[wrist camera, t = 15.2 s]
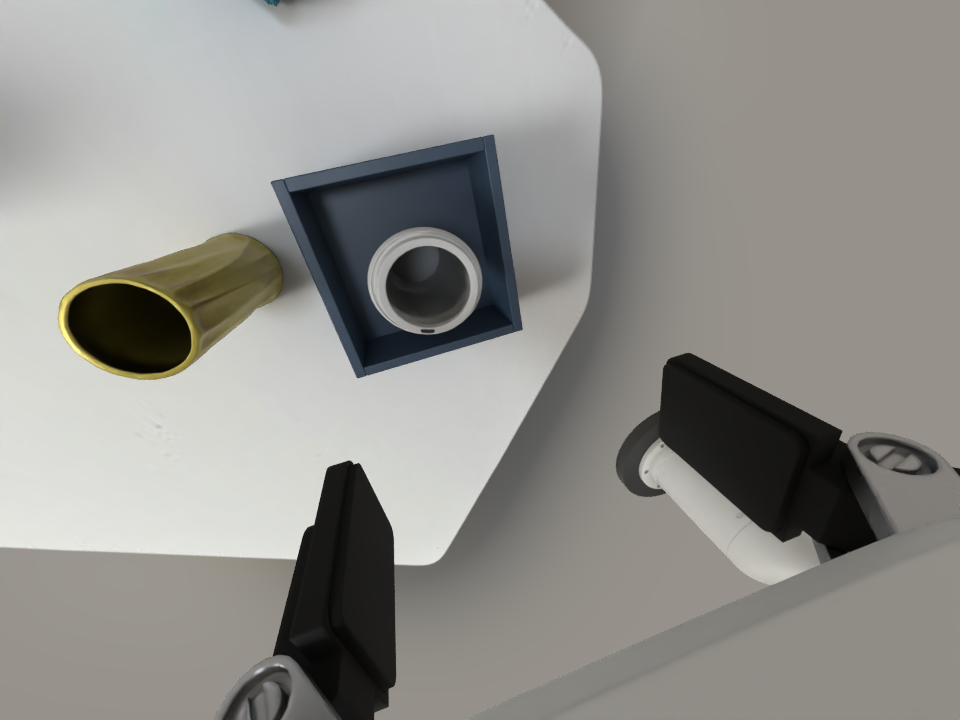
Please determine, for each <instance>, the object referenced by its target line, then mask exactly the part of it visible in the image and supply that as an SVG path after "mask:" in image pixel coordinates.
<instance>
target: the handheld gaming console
mask: <svg viewBox="0 0 960 720" xmlns="http://www.w3.org/2000/svg"><path fill="white" fill-rule="evenodd" d="M264 1H265V2H266V3H268V4H269V3H270V4H271V5H272V4H273V5H275V6H277V4H278V1H279V0H264Z"/></svg>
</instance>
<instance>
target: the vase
mask: <svg viewBox="0 0 960 720" xmlns="http://www.w3.org/2000/svg"><path fill="white" fill-rule="evenodd" d="M282 279H283V278H282V271H281V267H280V265H279V263H278V261H277V259H276V258H275V256H274V255H273V254H272V252H271V251H270V250H269V249H267V248H266V247H265V246H264V245H262V244H261V243H260V242H258V241H256V240H254V239H252V238H250V237H247V236H244V235H239V234H232V233H228V234H222V235H218V236H215V237H212V238H210V239H208V240H207V241H206V242H205V243H203V244H201V245H198V246H195V247H192V248H188V249H185V250H181V251H178V252H175V253H172V254H169V255H166V256H164V257H161V258H158V259H155V260H153V261H149V262H146V263H142V264H138V265H134V266H131V267H128V268H125V269H121V270H118V271H114V272H111V273H108V274H105V275H102V276H99V277H95V278H92V279H89V280H86V281H84V282H82V283H80V284H78V285H77V286H75V287H74V288H73V289H72V290H70V291H69V292H68V293H67V294H66V295H65V296H64V297H63V298H62V300H61V302H60V305H59V314H58V323H59V328H60V331H61V333H62V335H63V337H64V338H65V340H66V341H67V343H68V344H69V345H70V346H71V348H72V349H73V350H74V351H75V352H76V353H78V354H79V355H80V356H81V357H83V358H84V359H86V360H87V361H88V362H90V363H92V364H93V365H95V366H96V367H98V368H100V369H102V370H104V371H107V372H109V373H112V374H115V375H119V376H123V377H127V378H133V379H140V380H156V379H161V378H166V377H169V376H173V375H176V374H178V373H180V372H182V371H183V370H185V369H186V368H188V367H189V366H190V365H191V364H193V363H194V362H195V361H196V360H198V359H199V358H200V357H201V356H202V355H203V354H205V353H206V352H207V351H208V350H209V349H210V348H211V347H212V346H213V345H215V344H216V343H217V342H218V341H220V340H221V339H222V338H224V337H225V336H226V335H227V334H228V333H230V332H231V331H232V330H233V329H235V328H236V327H237V326H238V325H239V324H241V323H242V322H243V321H244V320H245V319H247V318H248V317H249V316H250V315H251V314H252V313H253V312H254V310H255V309H256V308H259V307H262V306H264V305H266V304H268V303H269V302H271V301H272V300H273V299H274V298H276V296H277V295H278V294H279V292H280V290H281V286H282Z"/></svg>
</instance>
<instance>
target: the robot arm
mask: <svg viewBox="0 0 960 720" xmlns="http://www.w3.org/2000/svg"><path fill="white" fill-rule="evenodd" d="M841 433H842V430H840V429H838V428H836V427H834V426H832V425H830V424H828V423H826V422H824V421H822V420H820V419H818V418H816V417H814V416H812V415H810V414H809V413H807V412H805V411H803V410H801V409H799V408H797V407H795V406H793V405H791V404H789V403H787V402H785V401H783V400H781V399H779V398H777V397H775V396H773V395H771V394H770V393H768V392H766V391H763V390H762V389H760V388H758V387H756V386H754V385H752V384H750V383H748V382H746V381H744V380H742V379H740V378H738V377H736V376H734V375H732V374H730V373H728V372H727V371H724V370H723V369H720V368H719V367H717V366H715V365H713V364H711V363H709V362H707V361H705V360H703V359H701V358H699V357H697V356H695V355H693V354H691V353H685V354H682V355H679V356H676V357H673V358H670V359H668V361H667V363H666V365H665V366H664V368H663V378H662V392H661V406H660V421H659V435H660V438H658V439H657V440H656V441H655V442H654V443H653V444H652V445H651V446H650V447H649V448H648V449H647V451H646V452H645V454H644V455H643V457H642V459H641V462H640V465H639V475H640V478H641V480H642V481H643V482H644V483H645V484H646V485H647V486H649V487H651V488H654V489H663V490H664V491H665V492H666V493H667V494H668V495H669V496H670V497H671V498H672V499H673V500H674V501H675V502H676V503H677V504H678V505H679V507H680V508H681V509H682V510H683V511H684V512H685V513H686V514H687V515H688V516H689V517H690V518H691V519H692V520H693V521H694V522H695V523H696V525H697V526H698V527H699V528H700V529H701V530H702V531H703V532H704V533H705V534H706V535H707V536H708V537H709V538H710V539H711V540H712V541H713V542H714V543H715V544H716V546H717V547H718V548H719V549H720V550H721V551H722V552H723V553H724V554H725V555H726V556H727V557H728V558H729V559H730V560H731V561H732V562H733V563H734V565H735V566H736V567H737V568H738V569H740V570H741V571H742V572H743V573H745V574H746V575H748V576H749V577H751V578H752V579H755V580H757V581H759V582H762V583H765V584H768V585H771V586H769V587H766V588H764V589H762V590H760V591H757V592H755V593H752V594H750V595H748V596H745V597H743V598H741V599H738V600H736V601H734V602H731V603H729V604H727V605H725V606H722V607H720V608H717V609H716V610H713V611H711V612H708V613H706V614H704V615H701V616H699V617H697V618H694V619H692V620H690V621H687V622H685V623H683V624H680V625H678V626H676V627H674V628H671V629H669V630H667V631H664V632H662V633H660V634H657V635H655V636H653V637H650V638H648V639H646V640H643V641H641V642H639V643H637V644H634V645H632V646H630V647H627V648H625V649H623V650H620V651H618V652H616V653H614V654H611V655H609V656H607V657H605V658H602V659H600V660H598V661H596V662H594V663H591V664H589V665H586V666H584V667H582V668H579V669H577V670H575V671H573V672H570V673H568V674H566V675H563V676H561V677H559V678H557V679H554V680H552V681H550V682H548V683H545V684H543V685H541V686H538V687H536V688H534V689H532V690H529V691H527V692H525V693H522V694H520V695H518V696H516V697H513V698H511V699H509V700H507V701H504V702H502V703H500V704H498V705H496V706H494V707H492V708H489V709H487V710H485V711H483V712H481V713H479V714H476V715H474V716H472V717H470V718H468V719H466V720H960V469H959V468H953V467H951V466H950V464H949V463H948V462H947V461H946V460H945V459H944V458H943V457H941V456H940V455H939V454H938V453H936V452H935V451H933V450H931V449H930V448H928V447H926V446H924V445H922V444H920V443H917V442H915V441H912V440H910V439H906V438H903V437H900V436H896V435H891V434H885V433H875V432H866V433H859V434H856V435H854V436H852V437H850V439H849V441H848V443H847V444H846V443H844V442H842V441H840V440H839V438H840V436H841ZM394 587H395V586H394V537H393V531H392V527H391V525H390V522H389V520H388V518H387V516H386V514H385V512H384V510H383V508H382V506H381V504H380V502H379V500H378V498H377V496H376V494H375V492H374V490H373V488H372V486H371V484H370V482H369V480H368V478H367V476H366V474H365V472H364V470H363V468H362V466H361V465H360V464H359V463H357V464H353V463H352V462H351V461H346V462H343V463H340V464H337V465H333V466H330V467H328V468H327V471H326V475H325V480H324V484H323V488H322V493H321V497H320V502H319V506H318V511H317V515H316V520H315V524H314V525H313V526H310V527H308V528H307V529H306V530H305V532H304V535H303V538H302V542H301V546H300V550H299V554H298V558H297V562H296V566H295V570H294V574H293V578H292V582H291V586H290V590H289V594H288V598H287V601H286V606H285V609H284V614H283V618H282V622H281V625H280V629H279V634H278V637H277V642H276V646H275V649H274V653H273V657H269V658H266V659H265V660H263V661H261V662H260V663H258V664H256V665H255V666H253V667H252V668H251V669H250V670H249V671H248V672H246V674H244V675H243V676H242V677H241V678H240V679H239V680H238V681H237V683H236V684H235V685H234V686H233V688H232V689H231V690H230V691H229V693H228V694H227V695H226V697H225V699H224V701H223V702H222V704H221V705H220V707H219V709H218V711H217V713H216V715H215V718H214V720H374V713H375V712H377V711H379V710H381V709H384V708H387V707H388V705H389V704H388V703H389V701H388V699H389V697H388V689H389V688H391V687H393V686H394V685H395V682H396V649H395V647H396V643H395V589H394Z"/></svg>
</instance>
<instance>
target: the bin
mask: <svg viewBox="0 0 960 720" xmlns="http://www.w3.org/2000/svg"><path fill="white" fill-rule="evenodd" d="M271 184H272V186H273V189H274V191H275V193H276V195H277V198H278V200H279V202H280V205H281V207H282V209H283V211H284V214H285V216H286V218H287V220H288V223H289V225H290V227H291V230H292V232H293V234H294V236H295V239H296V241H297V243H298V245H299V248H300V250H301V252H302V254H303V257H304V259H305V261H306V264H307V266H308V268H309V270H310V273H311V275H312V277H313V279H314V282H315V284H316V286H317V288H318V291H319V293H320V295H321V298H322V300H323V302H324V304H325V307H326V309H327V311H328V313H329V316H330V318H331V320H332V322H333V325H334V327H335V329H336V332H337V334H338V336H339V338H340V341H341V343H342V345H343V347H344V350H345V352H346V354H347V356H348V359H349V361H350V363H351V366H352V368H353V370H354V372H355V375H356V377H357V378H361V377H364V376H366V375H371V374H374V373H378V372H381V371H384V370H388V369H391V368H394V367H398V366H401V365H405V364H408V363H411V362H415V361H418V360H422V359H425V358H428V357H432V356H435V355H439V354H442V353H445V352H449V351H452V350H455V349H459V348H462V347H466V346H469V345H472V344H476V343H479V342H483V341H486V340H489V339H493V338H496V337H500V336H503V335H506V334H510V333H513V332H517V331H520V330H522V329H523V328H522V321H521V315H520V308H519V301H518V294H517V288H516V281H515V274H514V267H513V261H512V254H511V247H510V241H509V234H508V227H507V220H506V214H505V207H504V200H503V193H502V187H501V180H500V173H499V166H498V160H497V153H496V146H495V139H494V135H488V136H484V137H479V138H474V139H469V140H464V141H460V142H455V143H450V144H445V145H441V146H436V147H431V148H427V149H422V150H417V151H412V152H408V153H403V154H398V155H393V156H389V157H384V158H379V159H375V160H370V161H365V162H360V163H356V164H351V165H346V166H341V167H337V168H332V169H327V170H323V171H318V172H313V173H308V174H304V175H299V176H294V177H289V178H285V179H280V180H275V181H272V182H271ZM416 227H432V228H437V229H441V230H444V231H447V232H449V233H451V234H453V235H455V236H457V237H458V238H460V239H461V240H462V241H463V242H465V243H466V244H467V245H468V246H469V248H470V249H471V250H472V251H473V253H474V254H475V256H476V258H477V260H478V262H479V265H480V268H481V273H482V290H481V295H480V299H479V301H478V303H477V306H476V307H475V309H474V311H473V312H472V313H471V314H470V315H469V316H468V317H467V318H466V319H465V320H464V321H463V322H462V323H460V324H459V325H458V326H456V327H455V328H453V329H451V330H448V331H446V332H442V333H439V334H429V335H426V334H417V333H412V332H409V331H405V330H403V329H401V328H399V327H397V326H395V325H393V324H392V323H391V322H389V321H388V320H387V319H386V318H385V317H383V316H382V314H381V313H380V312H379V311H378V310H377V308H376V307H375V305H374V303H373V301H372V299H371V296H370V293H369V289H368V269H369V265H370V262H371V260H372V258H373V256H374V254H375V252H376V251H377V249H378V248H379V247H380V246H381V245H382V244H383V243H384V242H385V241H386V240H387V239H388V238H390V237H391V236H393V235H395V234H396V233H399V232H401V231H403V230H406V229H410V228H416Z"/></svg>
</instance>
